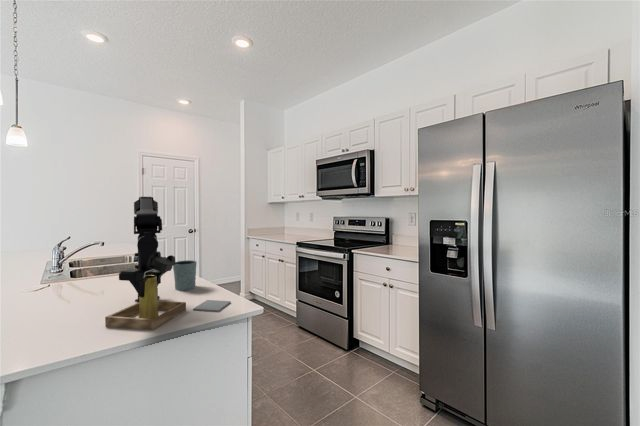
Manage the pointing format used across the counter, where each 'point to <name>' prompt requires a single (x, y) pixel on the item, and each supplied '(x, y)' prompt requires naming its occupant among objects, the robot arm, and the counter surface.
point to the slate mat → (212, 305)
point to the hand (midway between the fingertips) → (148, 294)
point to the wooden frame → (125, 321)
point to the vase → (149, 299)
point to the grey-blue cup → (184, 275)
